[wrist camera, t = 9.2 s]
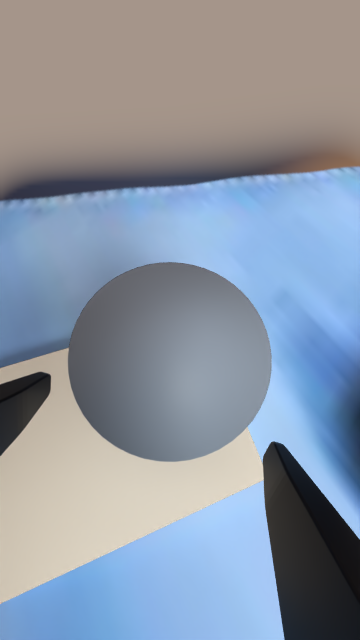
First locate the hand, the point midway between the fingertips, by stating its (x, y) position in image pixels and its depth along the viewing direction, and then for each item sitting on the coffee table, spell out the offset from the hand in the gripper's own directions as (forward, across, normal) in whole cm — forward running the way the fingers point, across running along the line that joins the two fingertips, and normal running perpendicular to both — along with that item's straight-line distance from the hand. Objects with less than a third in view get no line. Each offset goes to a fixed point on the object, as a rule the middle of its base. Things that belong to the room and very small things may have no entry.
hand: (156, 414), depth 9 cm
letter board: (+6, +3, +8) cm, 11 cm away
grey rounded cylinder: (+8, 0, +5) cm, 9 cm away
